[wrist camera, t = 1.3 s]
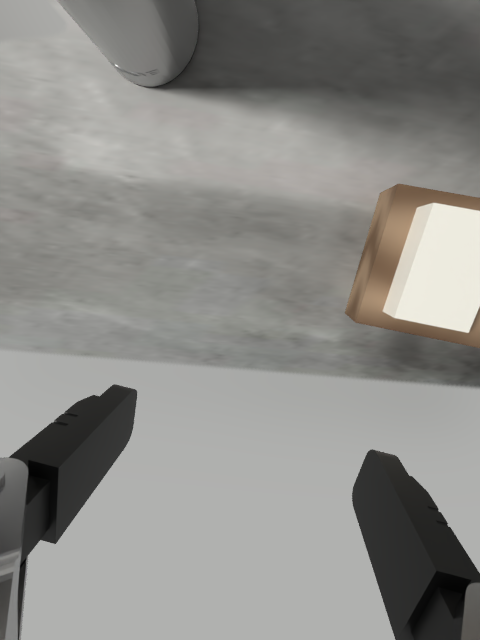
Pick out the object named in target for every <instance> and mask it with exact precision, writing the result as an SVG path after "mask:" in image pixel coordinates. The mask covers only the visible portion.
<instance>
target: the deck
mask: <svg viewBox="0 0 480 640" xmlns="http://www.w3.org/2000/svg"><path fill="white" fill-rule="evenodd" d="M431 203H438V204H444V205H449V206H455V207H461V208H466V209H472V210H477V211H480V198H476V197H471V196H465V195H460V194H454V193H448V192H443V191H437V190H431V189H426V188H420V187H414V186H409V185H403V184H397V185H395V186H393V187H391V188H389V189H387V190H385V191H383V192H381V193H380V196H379V199H378V202H377V206H376V209H375V213H374V216H373V219H372V223H371V226H370V230H369V233H368V236H367V240H366V243H365V246H364V250H363V253H362V257H361V260H360V263H359V267H358V270H357V274H356V277H355V280H354V284H353V287H352V291H351V294H350V297H349V301H348V304H347V308H346V311H345V314H347V315H348V316H349V317H350V318H351V319H352V320H354V321H355V322H356V323H361V324H366V325H370V326H375V327H380V328H385V329H390V330H395V331H400V332H404V333H409V334H414V335H419V336H424V337H429V338H434V339H438V340H443V341H448V342H453V343H458V344H463V345H468V346H472V347H477V348H480V307H479V309H478V312H477V314H476V317H475V319H474V321H473V324H472V326H471V328H470V331H469V333H466V332H461V331H456V330H451V329H446V328H441V327H436V326H431V325H427V324H422V323H417V322H412V321H407V320H402V319H397V318H393V317H392V316H390V315H388V314H386V313H384V312H383V309H384V306H385V303H386V300H387V297H388V294H389V290H390V287H391V284H392V281H393V278H394V275H395V272H396V269H397V266H398V263H399V260H400V257H401V254H402V251H403V248H404V245H405V242H406V239H407V236H408V233H409V230H410V227H411V224H412V221H413V218H414V215H415V212H416V209H417V207H420V206H424V205H427V204H431Z"/></svg>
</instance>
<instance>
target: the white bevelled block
mask: <svg viewBox="0 0 480 640" xmlns="http://www.w3.org/2000/svg"><path fill="white" fill-rule="evenodd" d="M479 307H480V211H477V210H472V209H466V208H461V207H455V206H449V205H444V204H438V203H431V204H427V205H424V206H420V207H417V209H416V212H415V215H414V218H413V221H412V224H411V227H410V230H409V233H408V236H407V239H406V242H405V245H404V248H403V251H402V254H401V257H400V260H399V263H398V266H397V269H396V272H395V275H394V278H393V281H392V284H391V287H390V290H389V294H388V297H387V300H386V303H385V306H384V309H383V312H384V313H386V314H388V315H390V316H392V317H393V318H397V319H402V320H407V321H412V322H417V323H422V324H427V325H431V326H436V327H441V328H446V329H451V330H456V331H461V332H466V333H469V331H470V328H471V326H472V324H473V321H474V319H475V317H476V314H477V312H478V309H479Z"/></svg>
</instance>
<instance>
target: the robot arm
mask: <svg viewBox="0 0 480 640" xmlns="http://www.w3.org/2000/svg"><path fill="white" fill-rule="evenodd" d="M57 1H58V2H59V3H60V5H61V6H62V7H63V8H64V9H65V10H66V12H67V13H68V14H69V15H70V16H71V17H72V19H73V20H74V21H75V22H76V23H77V24H78V26H79V27H80V28H81V29H82V30H83V31H84V33H85V34H86V35H87V36H88V37H89V38H90V40H91V41H92V42H93V43H94V44H95V45H96V47H97V48H98V49H99V50H100V51H101V52H102V54H103V55H104V56H105V57H106V58H107V59H108V61H109V62H110V63H111V64H112V65H113V66H114V68H115V69H116V70H117V71H118V72H119V73H120V74H121V75H122V76H124V77H125V78H126V79H128V80H129V81H131V82H133V83H135V84H138V85H142V86H153V87H154V86H158V85H163V84H165V83H167V82H169V81H171V80H173V79H174V78H175V77H177V76H178V75H179V74H180V73H181V72H182V71H183V70H184V68H185V67H186V66H187V64H188V63H189V61H190V59H191V57H192V55H193V53H194V49H195V46H196V43H197V37H198V28H199V25H198V12H197V8H196V4H195V0H57ZM136 400H137V391H136V390H135V389H131V388H127V387H123V386H119V385H112V386H111V387H110V388H109V389H108V390H106V391H105V392H104V393H103V394H102V395H101V396H100V397H99V396H95V395H93V396H90V397H88V398H85V399H83V400H81V401H78V402H77V403H75V404H74V405H73V406H72V407H70V408H69V409H68V410H67V411H65V413H64V414H62V415H61V416H59V417H58V418H57V419H56V420H55V421H54V423H51V424H49V425H48V426H47V427H46V428H44V429H43V430H42V431H41V432H40V433H38V434H37V435H36V436H35V437H33V438H32V439H31V440H30V441H29V442H27V443H26V444H25V445H23V446H22V447H21V448H20V449H19V450H17V451H16V452H15V453H14V454H12V455H11V456H10V457H9V458H0V640H21V631H22V618H23V608H24V597H25V586H26V575H27V564H28V563H27V562H28V555H29V553H30V552H31V551H32V550H33V548H34V547H35V546H36V545H37V543H38V542H39V541H40V540H43V541H47V542H50V543H54V544H56V543H57V541H58V540H59V538H60V537H61V536H62V534H63V533H64V532H65V530H66V529H67V527H68V526H69V525H70V523H71V522H72V520H73V519H74V518H75V516H76V515H77V513H78V512H79V511H80V509H81V508H82V507H83V505H84V504H85V502H86V501H87V499H88V498H89V497H90V495H91V494H92V493H93V491H94V490H95V488H96V487H97V486H98V484H99V483H100V482H101V480H102V479H103V477H104V476H105V475H106V473H107V472H108V470H109V469H110V468H111V466H112V465H113V463H114V462H115V461H116V459H117V458H118V456H119V455H120V454H121V452H122V451H123V450H124V448H125V447H126V445H127V443H128V441H129V439H130V436H131V433H132V430H133V424H134V416H135V407H136ZM352 499H353V500H352V501H353V507H354V510H355V513H356V516H357V520H358V523H359V526H360V529H361V532H362V535H363V539H364V542H365V545H366V548H367V551H368V554H369V557H370V560H371V564H372V567H373V570H374V573H375V576H376V579H377V583H378V586H379V589H380V592H381V595H382V598H383V602H384V605H385V608H386V611H387V614H388V617H389V621H390V624H391V627H392V630H393V633H394V636H395V639H396V640H480V573H479V572H478V571H477V569H476V567H475V565H474V564H473V562H472V561H471V559H470V558H469V556H468V554H467V553H466V551H465V550H464V548H463V547H462V545H461V544H460V542H459V540H458V539H457V537H456V536H455V535H454V532H453V531H452V529H451V528H450V527H448V525H447V524H448V523H447V522H446V520H445V518H444V517H443V515H442V514H441V512H439V511H438V508H437V506H436V504H435V503H434V501H433V500H432V498H431V496H430V495H429V493H428V492H427V491H426V490H425V489H424V488H423V487H422V486H421V485H420V484H419V483H418V482H417V481H416V480H415V479H414V478H413V477H412V476H409V475H408V473H407V472H406V470H405V468H404V467H403V465H402V463H401V462H400V460H399V459H398V457H397V456H395V455H391V454H387V453H384V452H380V451H375V450H370V451H368V453H367V455H366V457H365V459H364V462H363V464H362V467H361V469H360V472H359V474H358V477H357V479H356V482H355V484H354V487H353V493H352Z"/></svg>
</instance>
